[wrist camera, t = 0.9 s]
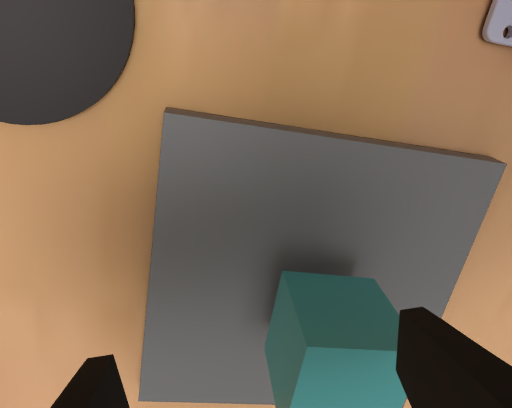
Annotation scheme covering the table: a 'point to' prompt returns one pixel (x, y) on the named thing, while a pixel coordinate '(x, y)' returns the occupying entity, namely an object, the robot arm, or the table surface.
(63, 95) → the coaster
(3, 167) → the table surface
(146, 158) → the table surface
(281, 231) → the post base
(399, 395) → the teal cube
